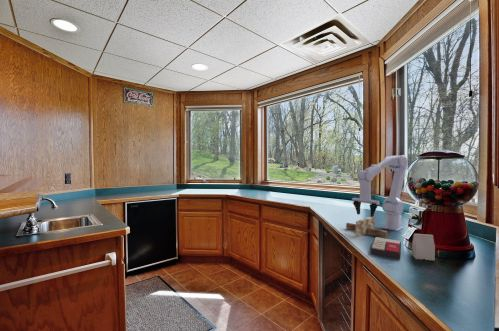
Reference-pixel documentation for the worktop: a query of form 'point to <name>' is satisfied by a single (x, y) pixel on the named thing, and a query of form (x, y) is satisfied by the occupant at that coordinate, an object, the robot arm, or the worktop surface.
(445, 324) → the worktop surface
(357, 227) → the cross piece
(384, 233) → the walnut stand
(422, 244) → the tea bag
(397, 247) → the calculator
